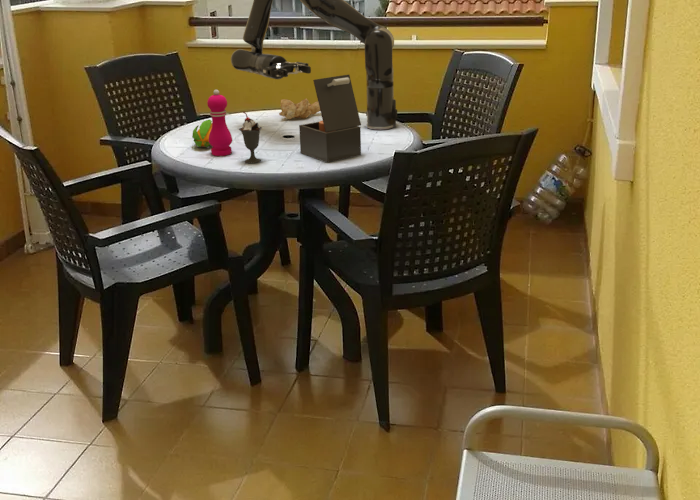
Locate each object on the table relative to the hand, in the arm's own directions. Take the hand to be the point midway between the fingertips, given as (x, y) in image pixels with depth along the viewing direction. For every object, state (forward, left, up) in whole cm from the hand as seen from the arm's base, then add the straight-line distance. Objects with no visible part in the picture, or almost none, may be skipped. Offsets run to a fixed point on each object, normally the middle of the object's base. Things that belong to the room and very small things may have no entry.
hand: (298, 71), depth 254 cm
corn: (+28, -15, -23) cm, 39 cm away
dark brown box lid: (-6, +19, -7) cm, 21 cm away
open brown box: (-5, +15, -23) cm, 28 cm away
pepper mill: (+26, 0, -23) cm, 35 cm away
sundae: (+19, +13, -23) cm, 33 cm away
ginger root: (-10, -40, -23) cm, 47 cm away
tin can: (-5, +14, -22) cm, 27 cm away
